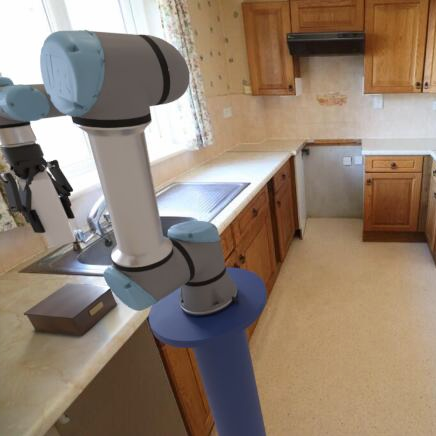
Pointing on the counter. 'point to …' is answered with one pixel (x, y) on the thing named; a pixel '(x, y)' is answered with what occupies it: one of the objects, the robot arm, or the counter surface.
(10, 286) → the counter surface
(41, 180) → the milk
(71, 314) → the walnut box
